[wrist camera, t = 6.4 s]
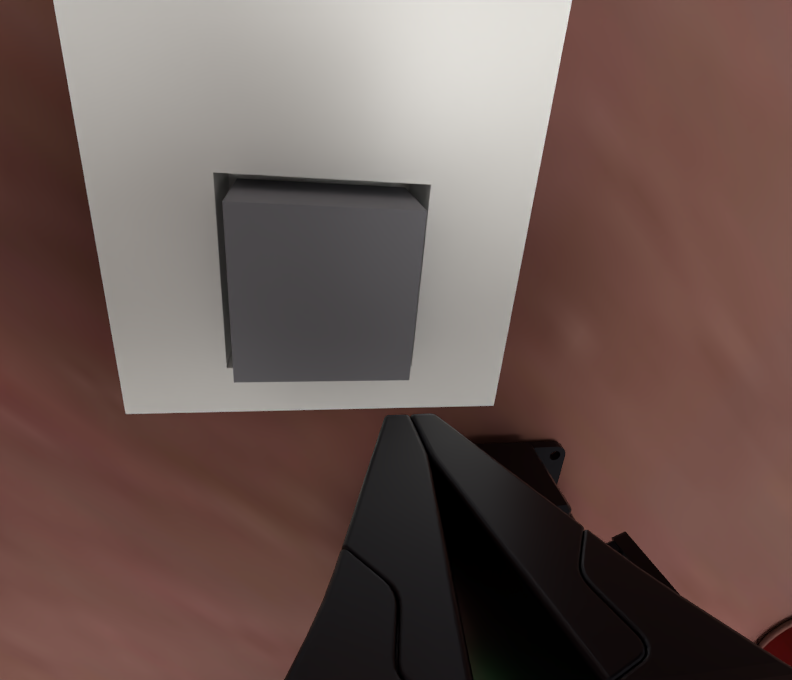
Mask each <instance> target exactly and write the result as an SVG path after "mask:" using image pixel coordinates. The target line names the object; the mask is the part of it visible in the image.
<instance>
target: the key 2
mask: <svg viewBox="0 0 792 680" xmlns="http://www.w3.org/2000/svg"><path fill="white" fill-rule="evenodd" d="M222 205H223V221H224V236H225V252H226V267H227V283H228V299H229V314H230V330H231V345H232V361H233V376H234V383H235V382H312V381H388V380H409V378H410V368H411V359H412V349H413V340H414V331H415V321H416V312H417V302H418V293H419V284H420V274H421V265H422V255H423V246H424V237H425V227H426V218H427V210H426V209H425V208H424V207H423V206H422V205H421V204H420V203H419V202H418V201H417V199H416V198H415V197H414V196H413V195H412V194H411V193H410V192H409V191H408V190H407V189H406V188H405V187H388V186H370V185H351V184H333V183H315V182H296V181H278V180H260V179H241V178H237V179H236V180H235V182H234V184H233V185H232V187H231V188H230V190H229V191H228V193H227V195H226V196H225V198H224V199H223V201H222Z"/></svg>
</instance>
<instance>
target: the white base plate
mask: <svg viewBox="0 0 792 680" xmlns="http://www.w3.org/2000/svg"><path fill="white" fill-rule="evenodd" d="M53 2H54V8H55V13H56V19H57V25H58V31H59V36H60V42H61V48H62V53H63V59H64V65H65V70H66V76H67V82H68V88H69V93H70V99H71V105H72V110H73V116H74V122H75V128H76V133H77V139H78V145H79V150H80V156H81V162H82V168H83V173H84V179H85V185H86V190H87V196H88V202H89V208H90V213H91V219H92V225H93V230H94V236H95V242H96V247H97V253H98V259H99V265H100V270H101V276H102V282H103V287H104V293H105V299H106V305H107V310H108V316H109V322H110V327H111V333H112V339H113V345H114V350H115V356H116V362H117V367H118V373H119V379H120V385H121V390H122V396H123V402H124V407H125V413H126V414H150V413H194V412H238V411H282V410H326V409H370V408H414V407H458V406H494V401H495V396H496V391H497V386H498V381H499V375H500V370H501V365H502V360H503V355H504V350H505V344H506V339H507V334H508V329H509V324H510V318H511V313H512V308H513V303H514V298H515V293H516V287H517V282H518V277H519V272H520V267H521V262H522V256H523V251H524V246H525V241H526V236H527V230H528V225H529V220H530V215H531V210H532V205H533V199H534V194H535V189H536V184H537V179H538V174H539V168H540V163H541V158H542V153H543V148H544V142H545V137H546V132H547V127H548V122H549V117H550V111H551V106H552V101H553V96H554V91H555V86H556V80H557V75H558V70H559V65H560V60H561V54H562V49H563V44H564V39H565V34H566V29H567V23H568V18H569V13H570V8H571V3H572V0H53ZM237 178H241V179H260V180H278V181H296V182H315V183H333V184H351V185H370V186H388V187H405V188H406V189H407V190H408V191H409V192H410V193H411V194H412V195H413V196H414V197H415V198H416V199H417V201H418V202H419V203H420V204H421V205H422V206H423V207H424V208H425V209H426V210H427V218H426V227H425V237H424V246H423V255H422V265H421V274H420V284H419V293H418V302H417V312H416V321H415V331H414V340H413V349H412V359H411V368H410V378H409V380H388V381H312V382H235V383H234V376H233V361H232V345H231V330H230V314H229V299H228V283H227V267H226V252H225V236H224V221H223V205H222V201H223V199H224V198H225V196H226V195H227V193H228V191H229V190H230V188H231V187H232V185H233V184H234V182H235V180H236V179H237Z"/></svg>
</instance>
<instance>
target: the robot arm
mask: <svg viewBox="0 0 792 680" xmlns="http://www.w3.org/2000/svg"><path fill="white" fill-rule="evenodd" d="M555 451H556V452H555ZM552 452H555V453H553V454H551V453H552ZM550 454H551V455H550ZM564 457H565V450H564V449H563V447H562V446H561V444H560V443H558V442H554V441H550V442H523V443H495V444H474V443H472V442H471V441H470V440H468V439H467V438H466V437H464V436H463V435H462V434H460V433H459V432H458V431H456V430H455V429H454V428H452V427H451V426H450V425H448V424H447V423H446V422H445V421H443V420H442V419H441V418H439V417H438V416H436V415H435V414H414V415H412V416H411V417H409V416H408V415H387V416H386V417H385V418H384V421H383V424H382V427H381V430H380V433H379V436H378V439H377V442H376V445H375V448H374V451H373V454H372V457H371V460H370V464H369V467H368V470H367V473H366V476H365V479H364V482H363V485H362V488H361V491H360V494H359V497H358V500H357V503H356V506H355V509H354V512H353V515H352V518H351V521H350V524H349V528H348V531H347V534H346V537H345V540H344V543H343V546H342V550H341V551H340V554H339V557H338V560H337V563H336V566H335V569H334V572H333V575H332V577H331V580H330V583H329V585H328V588H327V590H326V593H325V596H324V598H323V601H322V603H321V606H320V608H319V610H318V612H317V614H316V616H315V619H314V621H313V623H312V625H311V627H310V629H309V632H308V634H307V636H306V638H305V640H304V642H303V644H302V646H301V648H300V650H299V652H298V654H297V656H296V658H295V660H294V662H293V664H292V666H291V668H290V669H289V671H288V673H287V675H286V677H285V679H284V680H792V667H791V666H790V665H788V664H786V663H785V662H783V661H781V660H780V659H778V658H777V657H775V656H774V655H772V654H770V653H769V652H767V651H766V650H764V649H763V648H761V647H760V646H758V645H756V644H755V643H753V642H752V641H750V640H749V639H747V638H746V637H744V636H743V635H741V634H739V633H738V632H736V631H735V630H733V629H732V628H730V627H729V626H727V625H725V624H724V623H722V622H721V621H719V620H718V619H716V618H715V617H713V616H712V615H710V614H708V613H707V612H705V611H704V610H702V609H701V608H699V607H698V606H696V605H694V604H693V603H691V602H690V601H688V600H687V599H685V598H684V597H682V596H681V595H680V594H679V593H678V592H677V591H676V590H675V589H674V587H673V586H672V585H671V584H670V583H669V582H668V580H667V579H666V578H665V577H664V576H663V575H662V574H661V572H660V571H659V570H658V569H657V568H656V567H655V565H654V564H653V563H652V562H651V561H650V560H649V558H648V557H647V556H646V555H645V554H644V553H643V551H642V550H641V549H640V548H639V547H638V546H637V544H636V543H635V542H634V541H633V540H632V539H631V537H630V536H629V535H628V534H627V533H626V532H623V533H621V534H619V535H617V536H614V537H612V541H610V542H608V543H605V542H603V541H602V540H601V539H599V538H598V537H597V536H595V535H594V534H593V533H591V532H590V531H589V530H585V531H584V528H583V526H582V525H581V524H579V523H578V522H577V521H576V520H575V519H574V517H573V516H572V514H571V507H570V505H569V504H568V502H567V500H566V499H565V497H564V496H563V494H562V492H561V491H560V489H559V488H558V486H557V483H558V479H559V475H560V472H561V468H562V465H563V461H564Z"/></svg>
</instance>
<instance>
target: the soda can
mask: <svg viewBox="0 0 792 680" xmlns="http://www.w3.org/2000/svg"><path fill="white" fill-rule="evenodd" d="M758 646H760V647H761V648H763V649H764V650H766V651H767V652H769V653H770V654H772V655H774V656H775V657H777V658H778V659H780V660H781V661H783V662H785V663H786V664H788V665H790V666H791V667H792V619H790V620H788V621H787V622H785V623H783V624H781V625H779V626H778V627H776V628H775V629H773V630H772V631H771V632H770V633H768V634H767V635H766V636H765V637H764V638H763V639H762V640H761V641H760V643H759V644H758Z"/></svg>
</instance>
